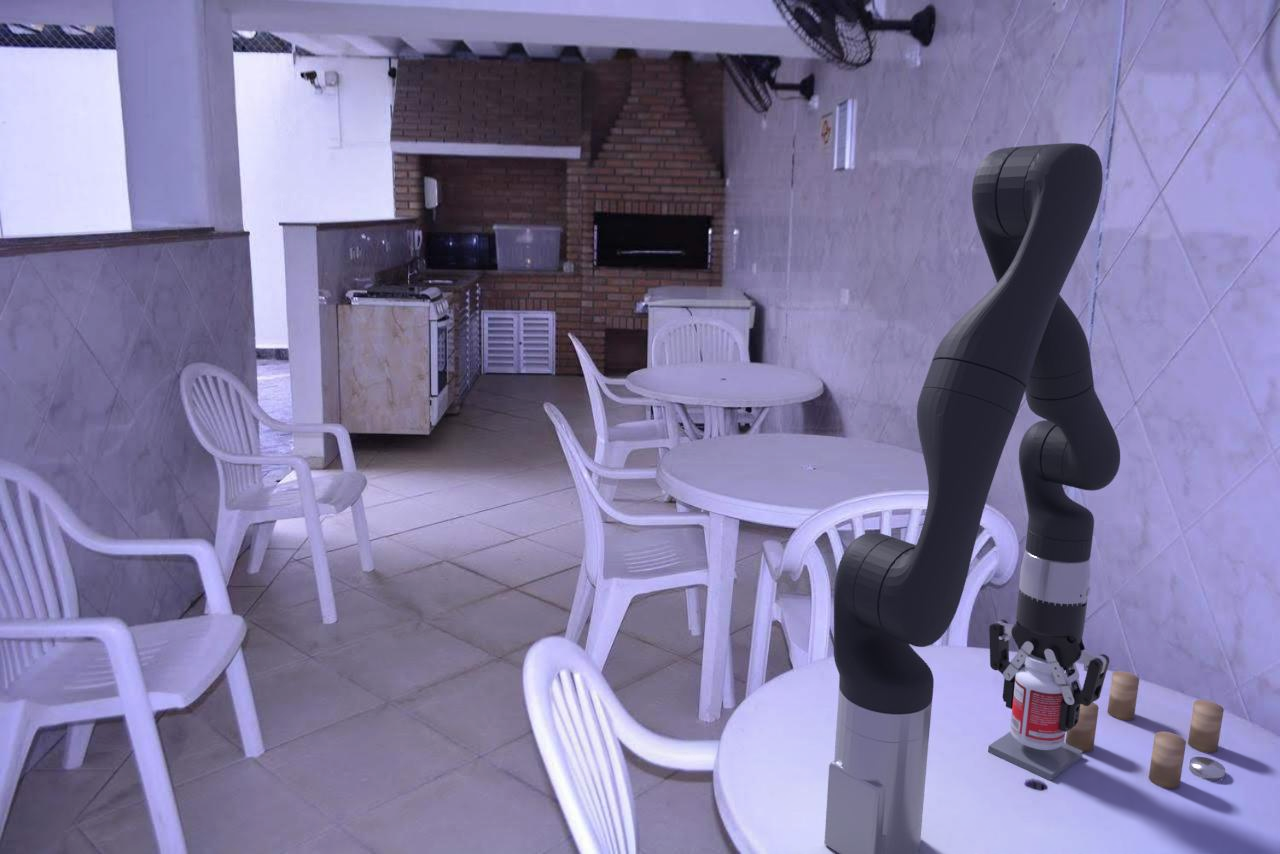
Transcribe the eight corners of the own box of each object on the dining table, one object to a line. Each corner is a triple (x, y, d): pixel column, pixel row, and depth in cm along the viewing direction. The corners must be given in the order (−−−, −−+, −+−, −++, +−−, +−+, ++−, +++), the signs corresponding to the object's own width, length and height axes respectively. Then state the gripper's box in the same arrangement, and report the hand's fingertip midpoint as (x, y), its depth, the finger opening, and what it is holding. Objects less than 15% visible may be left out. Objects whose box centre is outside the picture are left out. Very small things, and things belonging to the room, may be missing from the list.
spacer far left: (1211, 756, 114) (1218, 715, 113) (1183, 745, 116) (1189, 705, 115) (1221, 747, 116) (1227, 707, 115) (1193, 736, 118) (1199, 697, 117)
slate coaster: (1050, 780, 108) (1051, 774, 108) (988, 751, 114) (988, 745, 114) (1082, 756, 113) (1082, 751, 113) (1020, 730, 119) (1021, 724, 119)
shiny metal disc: (1217, 786, 108) (1218, 777, 108) (1184, 772, 111) (1185, 763, 110) (1228, 775, 110) (1229, 766, 110) (1195, 762, 113) (1196, 753, 113)
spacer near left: (1173, 792, 106) (1179, 749, 105) (1144, 779, 109) (1150, 737, 108) (1184, 782, 108) (1190, 739, 107) (1155, 770, 111) (1161, 728, 110)
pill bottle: (1074, 742, 112) (1084, 659, 110) (1044, 757, 109) (1054, 671, 107) (1028, 720, 117) (1037, 640, 115) (998, 734, 114) (1007, 651, 112)
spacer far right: (1128, 723, 121) (1133, 684, 120) (1103, 713, 124) (1108, 675, 123) (1138, 715, 123) (1143, 677, 122) (1113, 705, 126) (1118, 668, 125)
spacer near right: (1086, 754, 114) (1091, 714, 113) (1060, 743, 116) (1065, 704, 115) (1098, 746, 116) (1103, 706, 115) (1072, 735, 118) (1077, 696, 117)
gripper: (980, 578, 112) (968, 704, 116) (1100, 616, 101) (1083, 753, 105) (1012, 565, 117) (999, 686, 120) (1129, 600, 106) (1112, 731, 110)
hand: (1038, 717), depth 113 cm, fingers closed on pill bottle, 6 cm apart
